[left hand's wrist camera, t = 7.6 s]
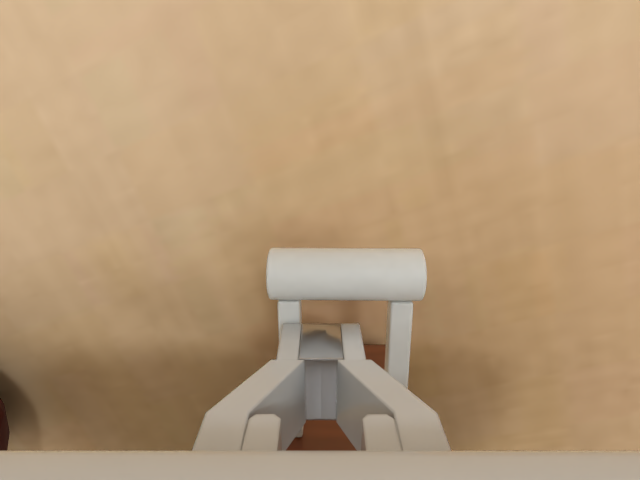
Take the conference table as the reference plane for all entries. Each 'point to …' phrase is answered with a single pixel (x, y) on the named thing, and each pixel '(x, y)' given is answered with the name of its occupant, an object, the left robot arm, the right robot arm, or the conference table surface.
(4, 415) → the dark red rounded ball
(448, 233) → the conference table surface
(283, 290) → the drawer
